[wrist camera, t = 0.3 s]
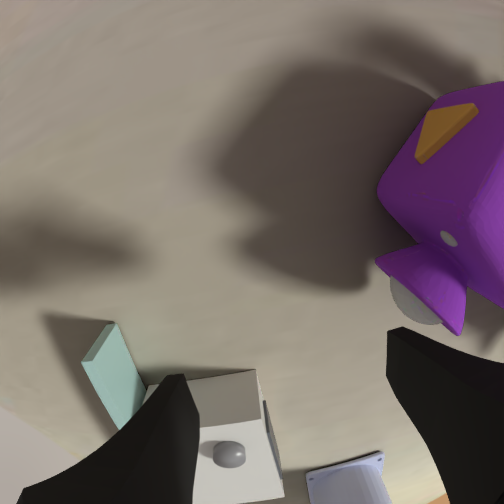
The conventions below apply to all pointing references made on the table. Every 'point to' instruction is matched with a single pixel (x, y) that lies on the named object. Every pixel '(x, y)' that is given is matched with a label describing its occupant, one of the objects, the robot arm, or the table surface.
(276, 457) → the block
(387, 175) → the toy camera
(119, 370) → the side door
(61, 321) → the table surface
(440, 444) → the robot arm
